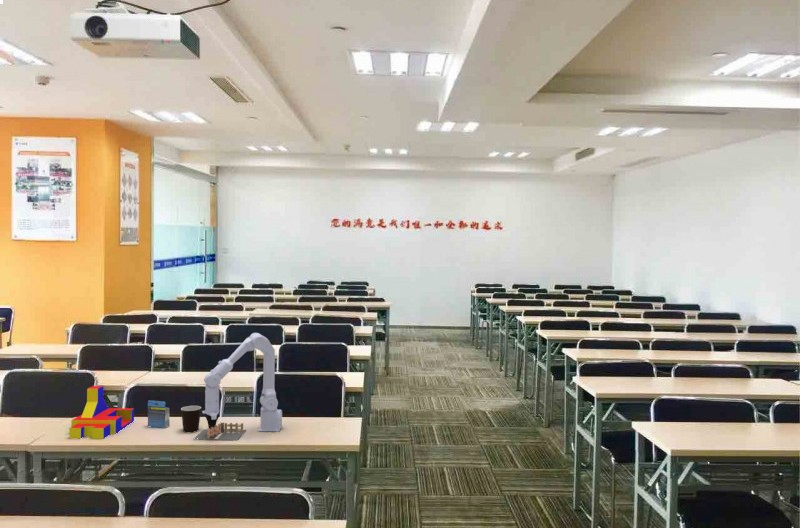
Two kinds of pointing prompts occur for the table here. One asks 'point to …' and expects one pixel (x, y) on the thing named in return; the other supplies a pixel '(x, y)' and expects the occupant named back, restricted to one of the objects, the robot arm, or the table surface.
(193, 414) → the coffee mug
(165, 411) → the label tape box
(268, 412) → the robot arm
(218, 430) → the fence panel
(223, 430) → the fixed fence
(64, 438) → the table surface
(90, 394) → the building blocks toy
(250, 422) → the table surface
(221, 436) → the mat
